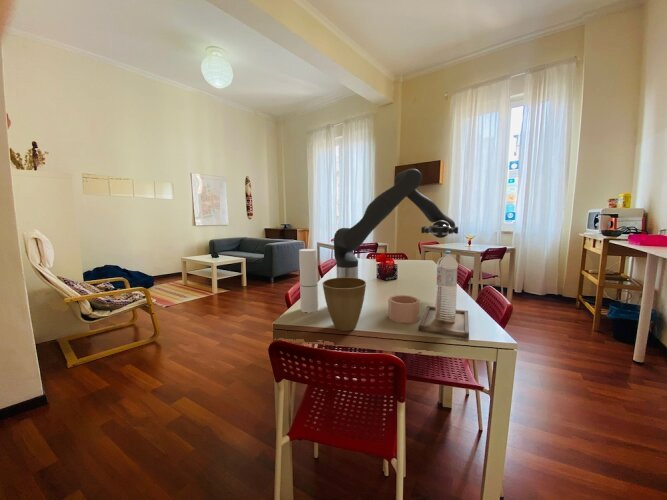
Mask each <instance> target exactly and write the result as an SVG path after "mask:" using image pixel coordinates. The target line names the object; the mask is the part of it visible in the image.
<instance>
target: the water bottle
mask: <svg viewBox="0 0 667 500" xmlns="http://www.w3.org/2000/svg"><path fill="white" fill-rule="evenodd" d="M458 267H459V263H458V261H457V260H456V259H455V258H454V257H453V256H452V255H451V251H450V250H444V255H443V256H442V257H440V258H439V259H438V260H437V262H436V285H435V303H434V305H435V306H434V307H435V319H436V320H437V321H439V322H442V323H453V322H454V321H455V318H456V309H457V296H458V295H457V293H458V285H457V283H458Z"/></svg>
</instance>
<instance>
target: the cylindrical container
mask: <svg viewBox="0 0 667 500" xmlns="http://www.w3.org/2000/svg"><path fill="white" fill-rule="evenodd" d="M298 257H299V258H298V260H299V261H298V263H299V264H298V265H299V287H300V289H299V290H300V292H299V294H300V312H302V313H304V312H307V313H306V314H312V313H311V312H313V313H316V312H318V311H319V287H318V285H319V284H318V283H319V282H318V281H319V280H318V249H317V248H302V249H298ZM317 310H318V311H317Z"/></svg>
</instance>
